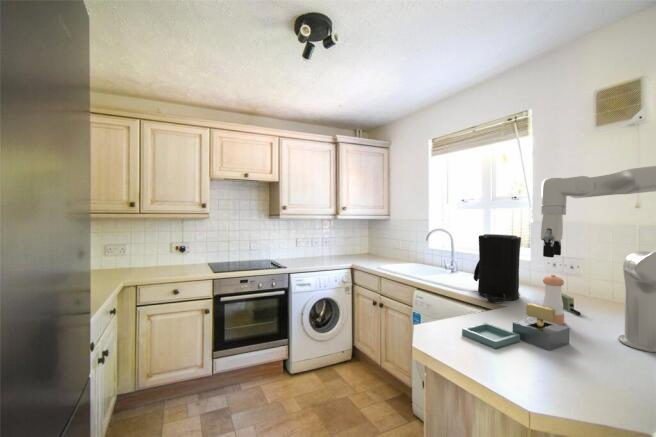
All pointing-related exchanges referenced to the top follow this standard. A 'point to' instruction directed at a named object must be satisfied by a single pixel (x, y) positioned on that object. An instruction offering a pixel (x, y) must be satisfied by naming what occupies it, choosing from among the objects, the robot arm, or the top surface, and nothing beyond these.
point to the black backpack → (498, 267)
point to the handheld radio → (568, 303)
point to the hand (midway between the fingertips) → (552, 255)
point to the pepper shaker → (554, 297)
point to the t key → (540, 314)
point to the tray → (491, 335)
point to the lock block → (542, 333)
